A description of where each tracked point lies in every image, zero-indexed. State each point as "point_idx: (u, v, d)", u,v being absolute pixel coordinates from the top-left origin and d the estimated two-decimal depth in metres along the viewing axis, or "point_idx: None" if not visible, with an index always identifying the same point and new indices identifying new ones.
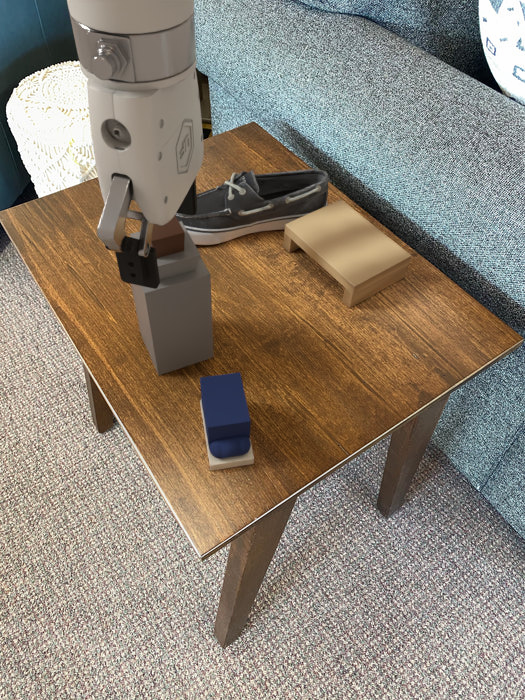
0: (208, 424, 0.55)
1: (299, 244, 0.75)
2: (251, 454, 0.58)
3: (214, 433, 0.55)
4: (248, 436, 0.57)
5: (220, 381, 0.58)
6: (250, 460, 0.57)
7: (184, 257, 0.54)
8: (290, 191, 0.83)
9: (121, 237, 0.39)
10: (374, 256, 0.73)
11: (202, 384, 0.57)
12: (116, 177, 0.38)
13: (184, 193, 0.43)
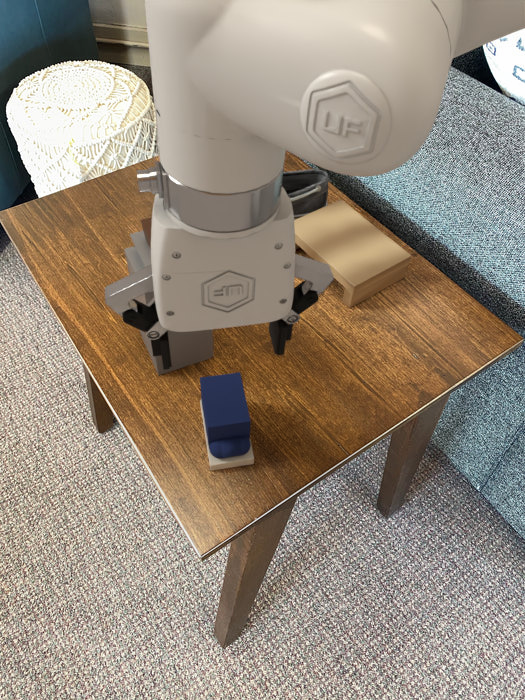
0: (208, 424, 0.55)
1: (299, 244, 0.75)
2: (251, 454, 0.58)
3: (214, 433, 0.55)
4: (248, 436, 0.57)
5: (220, 381, 0.58)
6: (250, 460, 0.57)
7: None
8: (290, 191, 0.83)
9: (122, 307, 0.42)
10: (374, 256, 0.73)
11: (202, 384, 0.57)
12: (151, 266, 0.41)
13: (216, 325, 0.42)
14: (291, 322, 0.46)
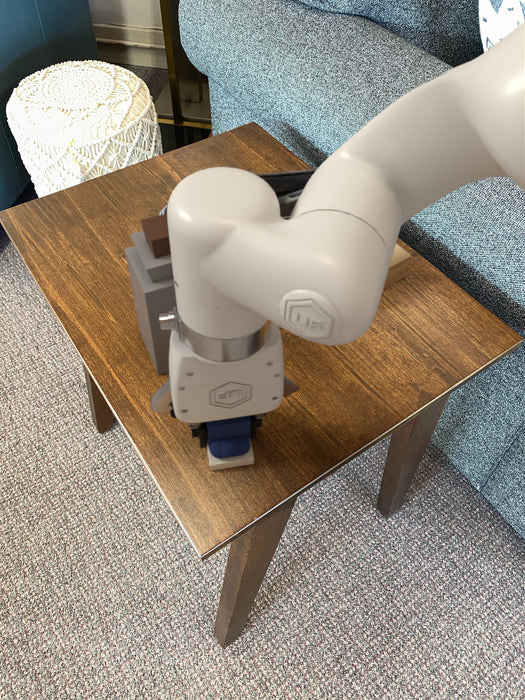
0: (208, 424, 0.55)
1: None
2: (251, 454, 0.58)
3: (214, 433, 0.55)
4: (248, 436, 0.57)
5: None
6: (250, 460, 0.57)
7: None
8: (290, 191, 0.83)
9: (166, 409, 0.53)
10: None
11: None
12: None
13: (221, 417, 0.52)
14: (260, 417, 0.57)
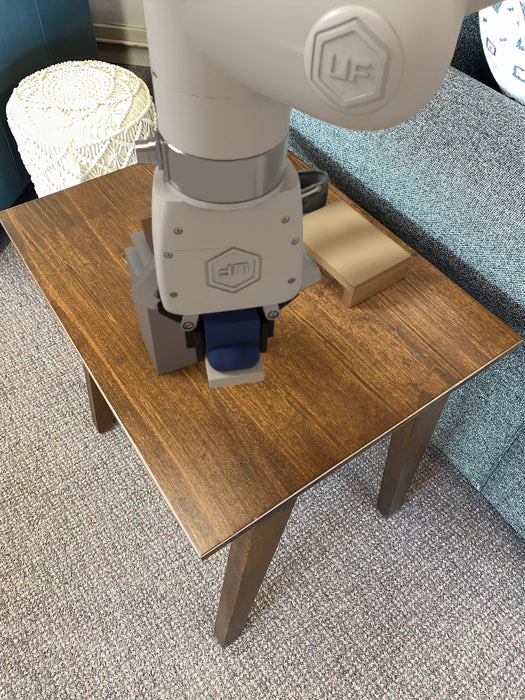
0: (206, 323, 0.43)
1: None
2: (261, 367, 0.46)
3: (214, 336, 0.44)
4: (257, 344, 0.45)
5: None
6: (260, 374, 0.46)
7: None
8: None
9: (151, 302, 0.42)
10: (374, 256, 0.73)
11: None
12: None
13: (222, 307, 0.40)
14: (272, 318, 0.45)
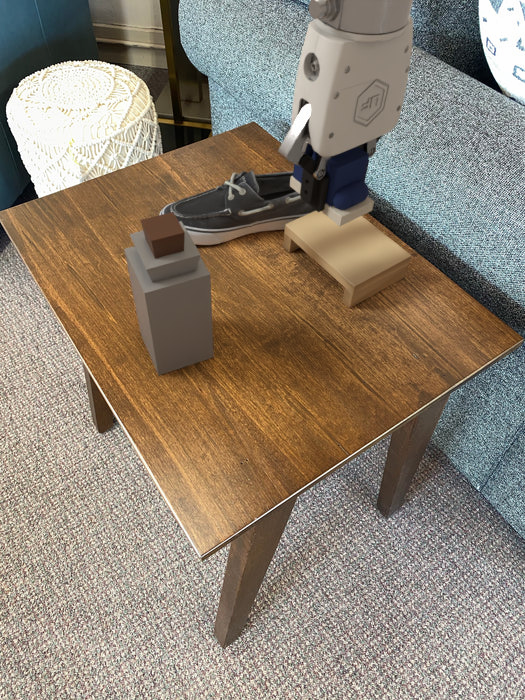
0: (335, 166, 0.53)
1: (299, 244, 0.75)
2: (369, 199, 0.57)
3: (340, 177, 0.54)
4: (363, 180, 0.57)
5: None
6: (371, 204, 0.57)
7: (183, 257, 0.54)
8: (290, 191, 0.83)
9: (298, 157, 0.51)
10: (374, 256, 0.73)
11: None
12: (303, 109, 0.49)
13: (356, 142, 0.51)
14: (369, 156, 0.56)
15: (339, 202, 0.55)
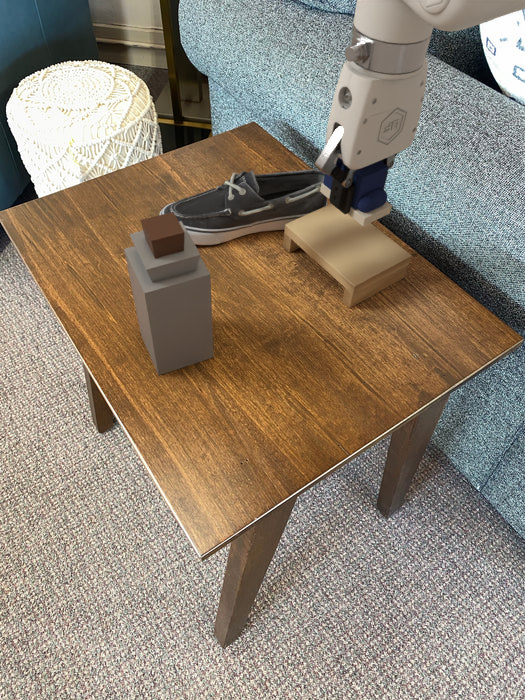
0: (361, 176, 0.64)
1: (299, 244, 0.75)
2: (388, 203, 0.68)
3: (364, 185, 0.65)
4: (382, 188, 0.68)
5: None
6: (389, 207, 0.68)
7: (183, 257, 0.54)
8: (290, 192, 0.83)
9: (330, 169, 0.62)
10: (374, 256, 0.73)
11: None
12: (336, 131, 0.60)
13: (379, 158, 0.62)
14: (388, 168, 0.67)
15: (363, 206, 0.66)
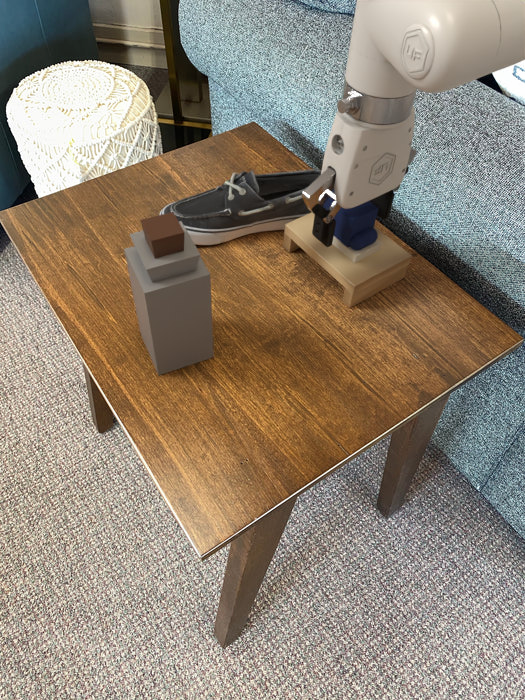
0: (352, 218, 0.69)
1: (299, 244, 0.75)
2: (378, 241, 0.73)
3: (355, 226, 0.70)
4: (373, 227, 0.72)
5: None
6: (379, 245, 0.73)
7: (183, 257, 0.54)
8: (290, 192, 0.83)
9: (314, 202, 0.64)
10: (374, 256, 0.73)
11: None
12: (329, 168, 0.63)
13: (370, 197, 0.66)
14: (395, 190, 0.71)
15: (354, 245, 0.71)
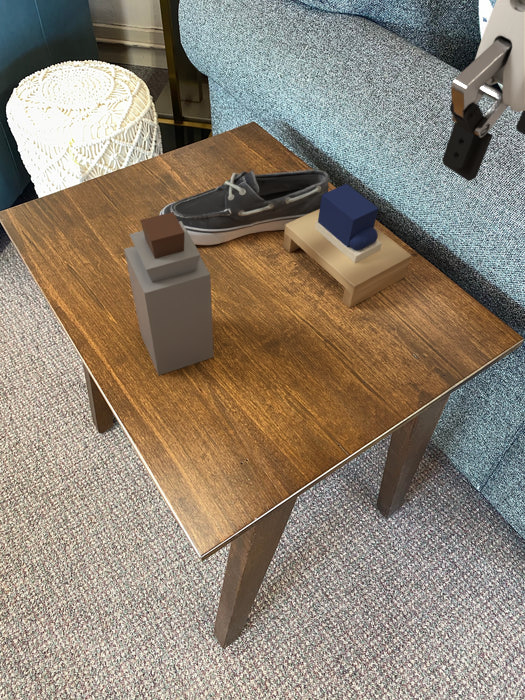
0: (352, 218, 0.69)
1: (299, 244, 0.75)
2: (378, 241, 0.73)
3: (355, 226, 0.70)
4: (373, 227, 0.72)
5: (337, 192, 0.72)
6: (379, 245, 0.73)
7: (183, 257, 0.54)
8: (290, 192, 0.83)
9: (471, 98, 0.40)
10: (374, 256, 0.73)
11: (327, 197, 0.71)
12: (498, 41, 0.39)
13: None
14: None
15: (354, 245, 0.71)
